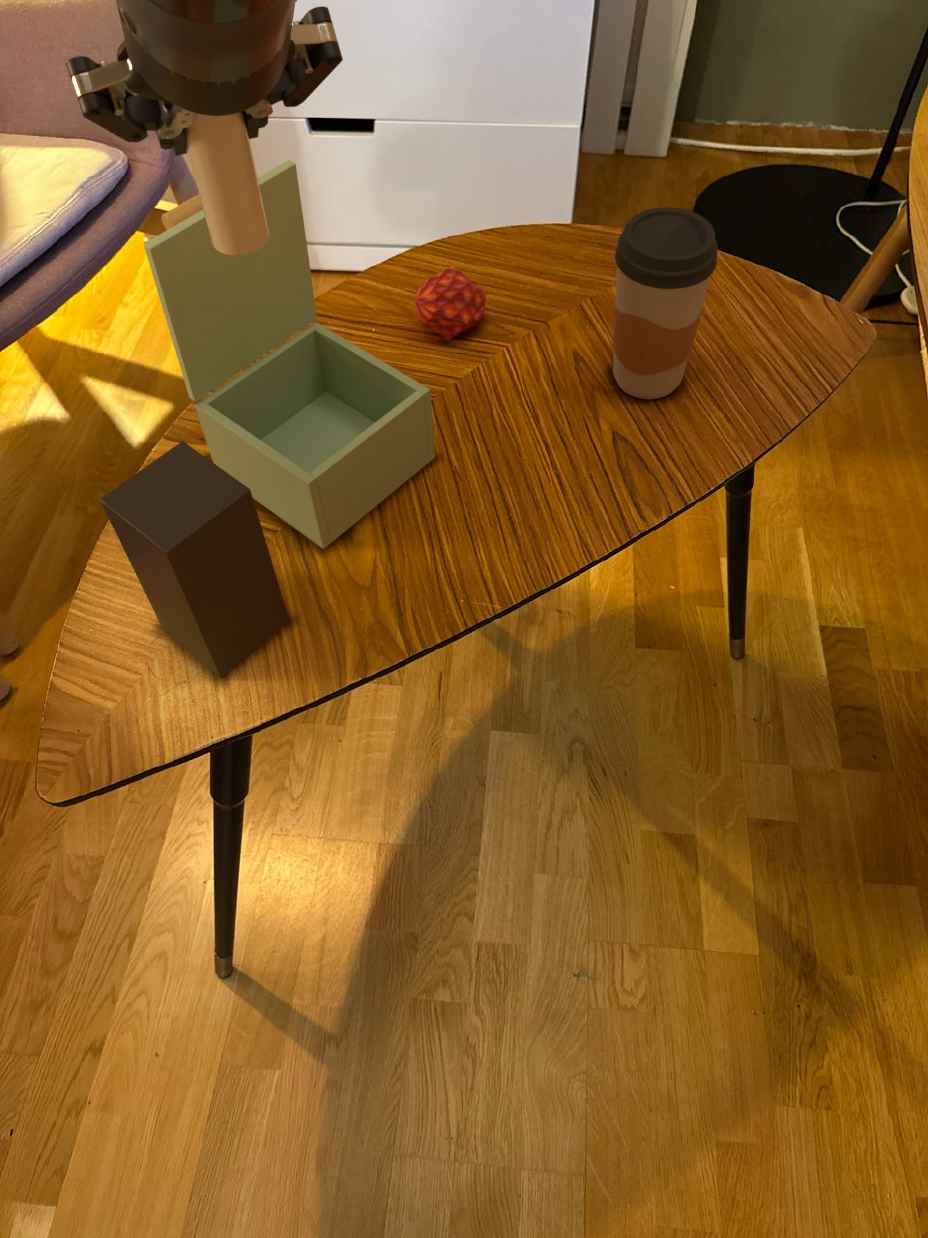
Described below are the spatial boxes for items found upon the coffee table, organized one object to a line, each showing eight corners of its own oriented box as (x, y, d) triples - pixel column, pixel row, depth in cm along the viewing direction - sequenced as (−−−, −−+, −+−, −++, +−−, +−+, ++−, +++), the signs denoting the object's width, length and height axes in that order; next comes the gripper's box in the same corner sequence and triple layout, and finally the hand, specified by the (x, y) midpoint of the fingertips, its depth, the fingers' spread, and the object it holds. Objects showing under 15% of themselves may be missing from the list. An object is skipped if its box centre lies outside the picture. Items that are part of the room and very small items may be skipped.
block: (221, 679, 74) (166, 552, 62) (162, 629, 77) (98, 498, 64) (290, 621, 77) (250, 489, 65) (231, 575, 80) (182, 440, 67)
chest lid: (296, 162, 73) (250, 136, 75) (150, 248, 67) (104, 218, 69) (317, 318, 85) (278, 293, 87) (195, 402, 79) (155, 373, 81)
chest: (435, 457, 87) (430, 389, 80) (323, 549, 81) (308, 483, 75) (327, 389, 92) (315, 321, 86) (216, 471, 86) (193, 404, 80)
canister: (237, 263, 61) (196, 98, 52) (199, 241, 62) (153, 77, 54) (282, 235, 62) (249, 71, 54) (244, 214, 64) (206, 51, 55)
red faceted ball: (484, 354, 98) (414, 351, 93) (459, 307, 100) (390, 302, 96) (512, 303, 93) (440, 298, 89) (485, 256, 96) (414, 248, 92)
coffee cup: (707, 366, 92) (738, 221, 80) (668, 420, 88) (695, 276, 76) (626, 337, 95) (645, 192, 83) (585, 388, 91) (599, 244, 79)
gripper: (338, -140, 42) (306, 38, 59) (2, -81, 40) (67, 88, 56) (389, 44, 44) (344, 167, 60) (68, 113, 41) (113, 222, 58)
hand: (210, 129), depth 58 cm, fingers closed on canister, 3 cm apart
